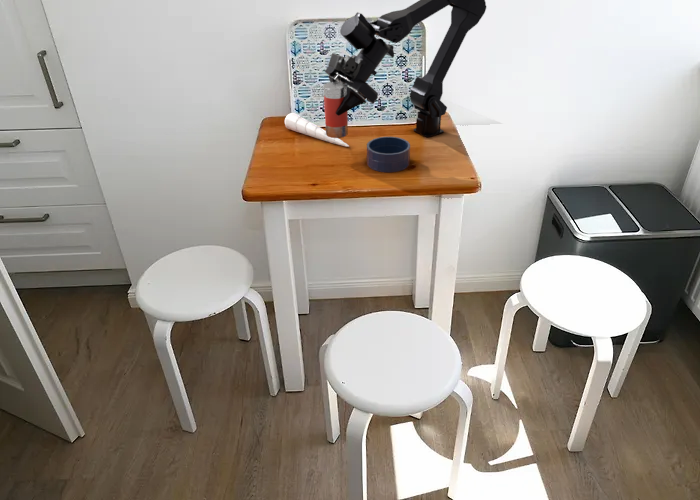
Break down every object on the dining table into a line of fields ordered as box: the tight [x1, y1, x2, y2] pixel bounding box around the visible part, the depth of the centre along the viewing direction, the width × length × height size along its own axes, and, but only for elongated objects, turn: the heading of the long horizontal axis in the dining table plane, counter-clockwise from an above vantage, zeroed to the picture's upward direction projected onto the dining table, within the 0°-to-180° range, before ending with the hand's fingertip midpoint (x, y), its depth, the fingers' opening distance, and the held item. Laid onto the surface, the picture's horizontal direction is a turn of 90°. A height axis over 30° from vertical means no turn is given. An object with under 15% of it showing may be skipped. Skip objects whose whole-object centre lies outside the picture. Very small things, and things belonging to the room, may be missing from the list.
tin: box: [323, 81, 349, 139], centre depth 149 cm, size 6×6×13 cm
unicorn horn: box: [284, 112, 350, 148], centre depth 165 cm, size 5×24×5 cm, turn 45°
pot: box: [366, 136, 411, 173], centre depth 151 cm, size 11×11×5 cm
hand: (331, 110), depth 149 cm, fingers closed on tin, 6 cm apart
